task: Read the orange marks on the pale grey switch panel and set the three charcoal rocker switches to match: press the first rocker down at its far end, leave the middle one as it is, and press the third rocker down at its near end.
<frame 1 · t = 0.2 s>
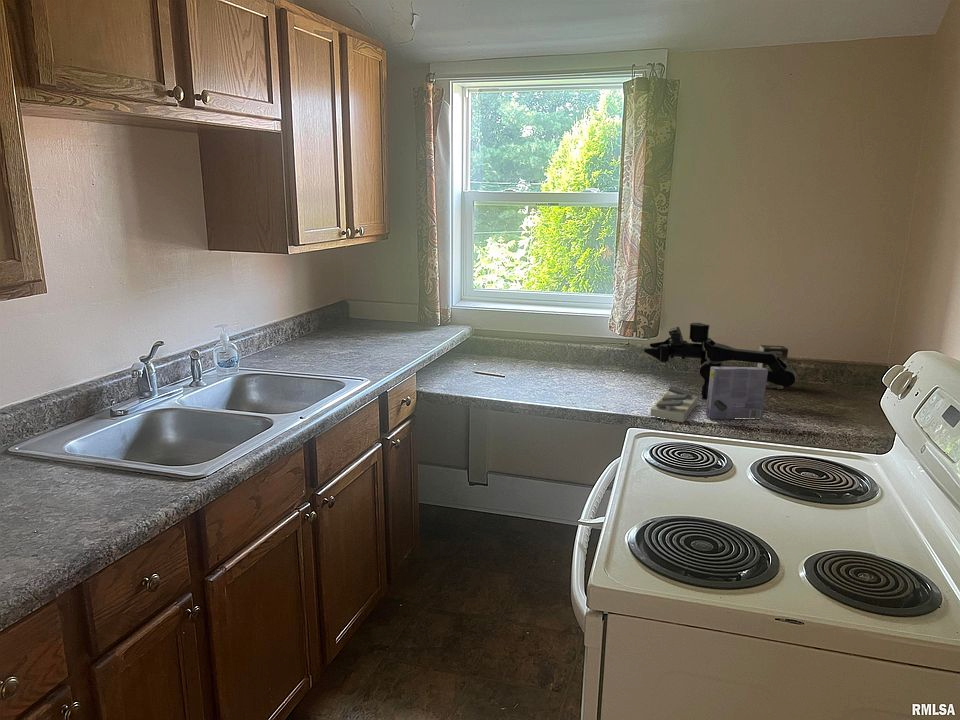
hand: (647, 347, 263), 17 cm above the worktop, tool horizontal, fingers open, 9 cm apart
coffee box: (769, 387, 271), on the worktop
switch panel: (674, 410, 241), on the worktop
rocker 3: (669, 403, 233), point 5 cm above the worktop, hinge at 11.5°
rocker 1: (680, 392, 247), point 5 cm above the worktop, hinge at -11.5°
rocker 2: (675, 397, 240), point 5 cm above the worktop, hinge at 11.5°
cake pan box: (735, 418, 234), on the worktop
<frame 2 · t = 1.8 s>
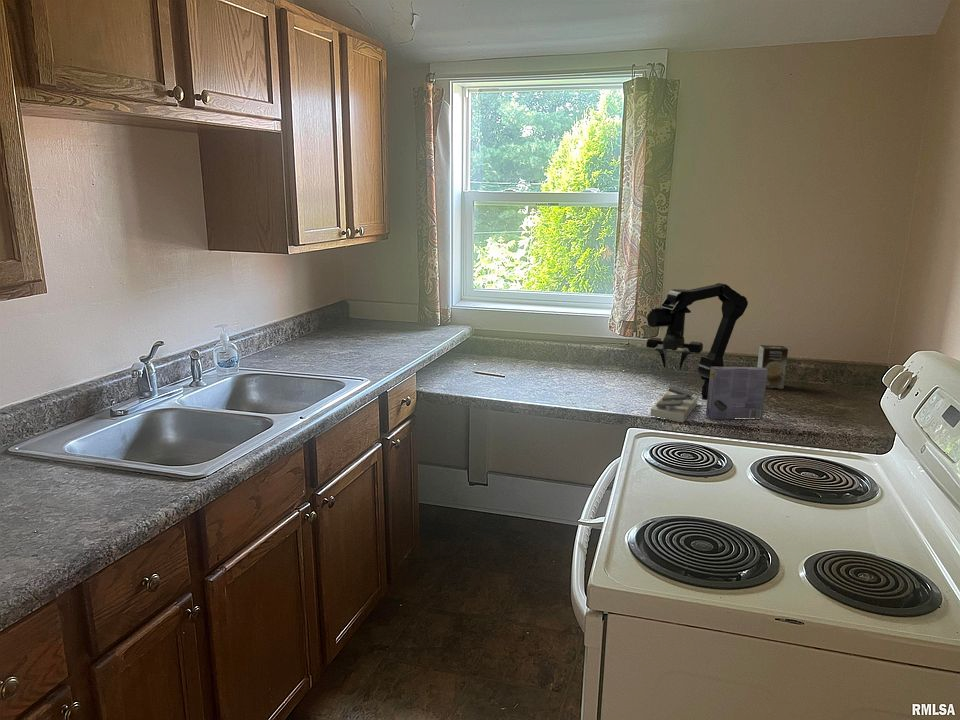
hand: (672, 368, 246), 13 cm above the worktop, tool pointing down, fingers open, 5 cm apart
nothing on the worktop moved.
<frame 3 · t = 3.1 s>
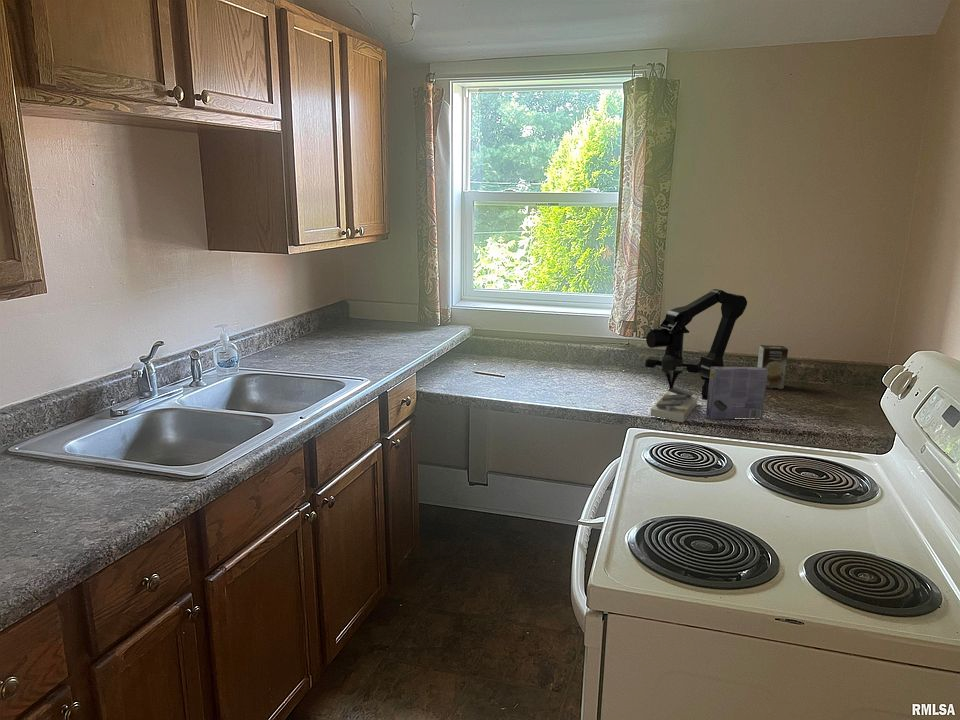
hand: (671, 387, 248), 6 cm above the worktop, tool pointing down, fingers closed, pressing on rocker 1
rocker 1: (680, 392, 247), point 5 cm above the worktop, hinge at -11.5°, touching gripper
everything else where it was.
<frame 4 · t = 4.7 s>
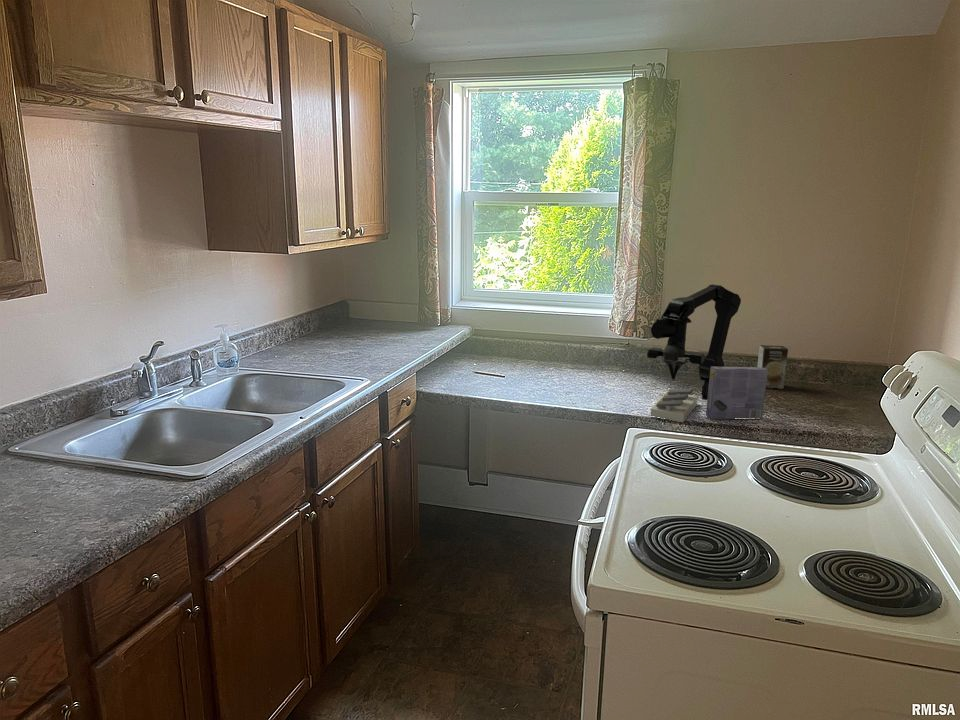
hand: (673, 379, 242), 10 cm above the worktop, tool pointing down, fingers closed
rocker 1: (680, 391, 247), point 5 cm above the worktop, hinge at 10.6°
everything else where it was.
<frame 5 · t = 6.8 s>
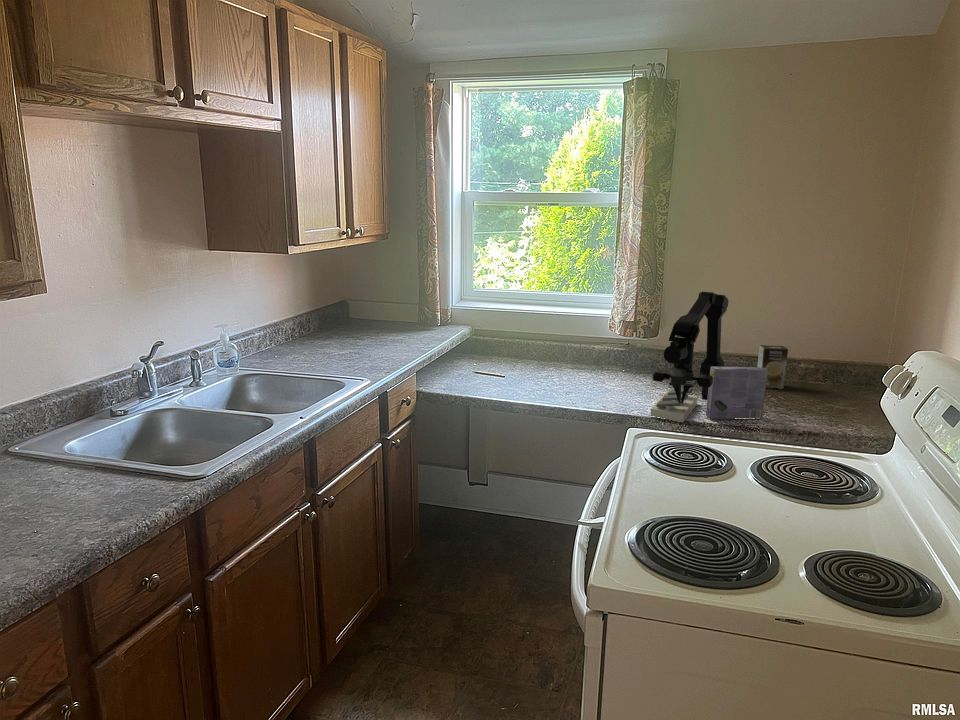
hand: (680, 402, 231), 6 cm above the worktop, tool pointing down, fingers closed
rocker 3: (669, 403, 233), point 5 cm above the worktop, hinge at 11.4°, touching gripper
rocker 1: (679, 391, 247), point 5 cm above the worktop, hinge at 15.4°
everything else where it was.
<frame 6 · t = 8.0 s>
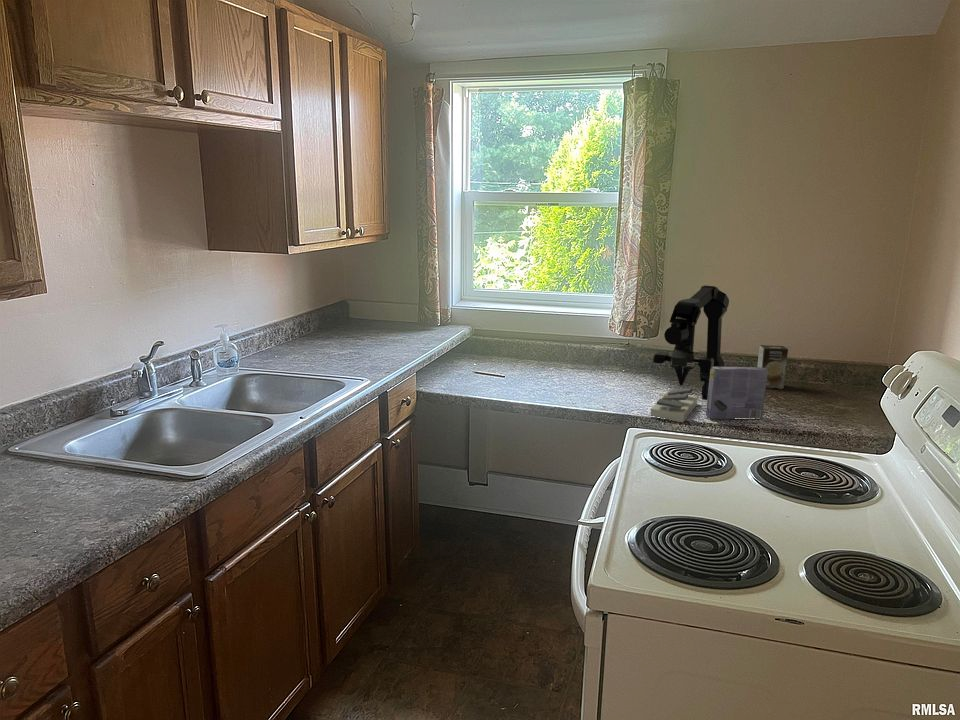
hand: (681, 385, 230), 12 cm above the worktop, tool pointing down, fingers closed
rocker 3: (670, 403, 233), point 5 cm above the worktop, hinge at -3.2°
rocker 1: (679, 391, 247), point 5 cm above the worktop, hinge at 15.7°
everything else where it was.
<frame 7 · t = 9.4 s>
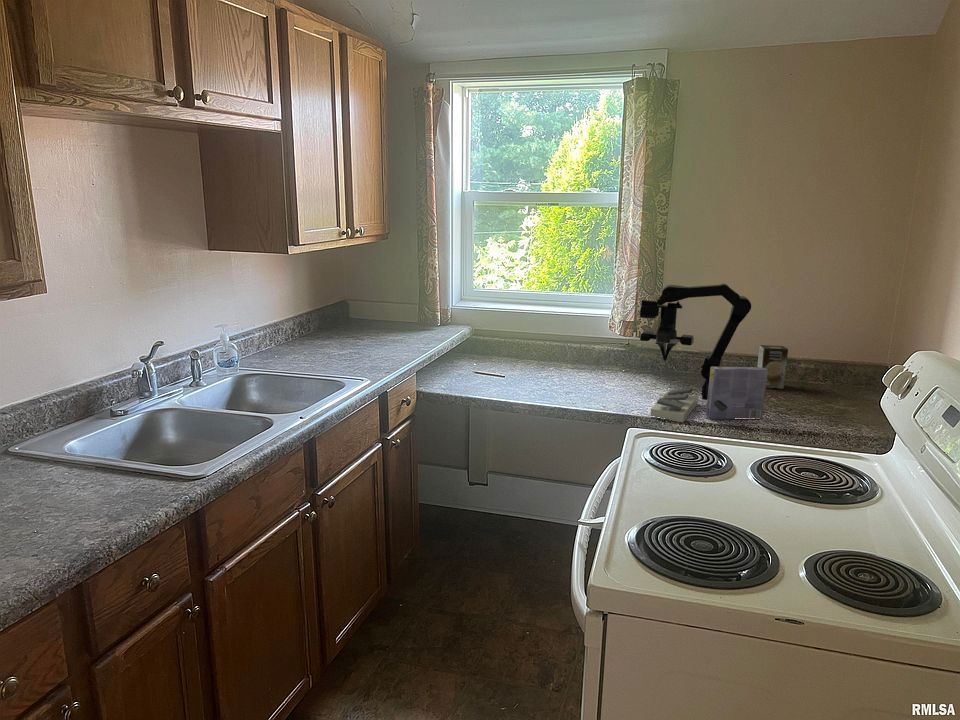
hand: (665, 360, 257), 13 cm above the worktop, tool pointing down, fingers closed
rocker 3: (670, 403, 233), point 5 cm above the worktop, hinge at -8.1°
everything else where it was.
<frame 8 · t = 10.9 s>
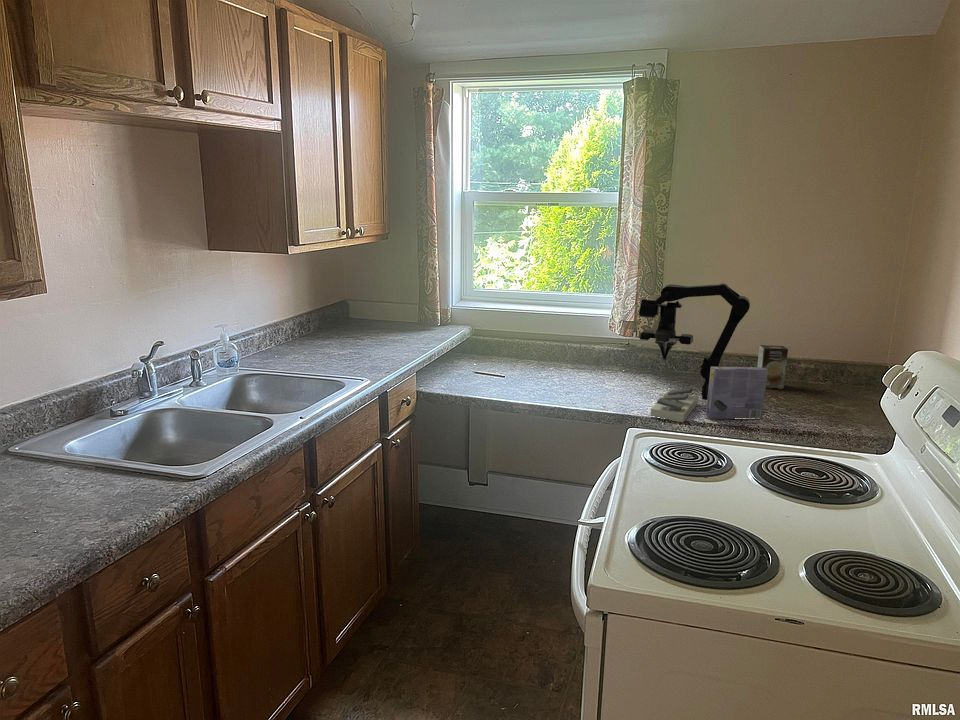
hand: (664, 359, 259), 13 cm above the worktop, tool pointing down, fingers closed
rocker 3: (670, 403, 233), point 5 cm above the worktop, hinge at -9.1°
everything else where it was.
at the end: rocker 1 at +16° (first picture: -12°); rocker 2 at +12° (first picture: +12°); rocker 3 at -9° (first picture: +12°) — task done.
